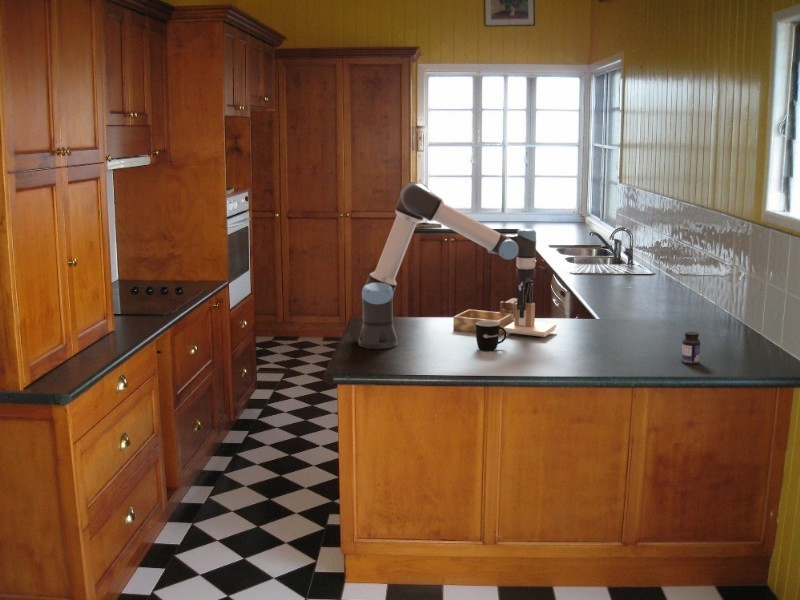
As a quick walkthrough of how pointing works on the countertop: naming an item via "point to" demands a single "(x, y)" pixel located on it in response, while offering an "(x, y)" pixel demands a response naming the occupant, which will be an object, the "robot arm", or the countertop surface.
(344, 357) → the countertop surface
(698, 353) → the pill bottle
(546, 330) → the lid
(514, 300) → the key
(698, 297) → the countertop surface
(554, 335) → the countertop surface
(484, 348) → the mug
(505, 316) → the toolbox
